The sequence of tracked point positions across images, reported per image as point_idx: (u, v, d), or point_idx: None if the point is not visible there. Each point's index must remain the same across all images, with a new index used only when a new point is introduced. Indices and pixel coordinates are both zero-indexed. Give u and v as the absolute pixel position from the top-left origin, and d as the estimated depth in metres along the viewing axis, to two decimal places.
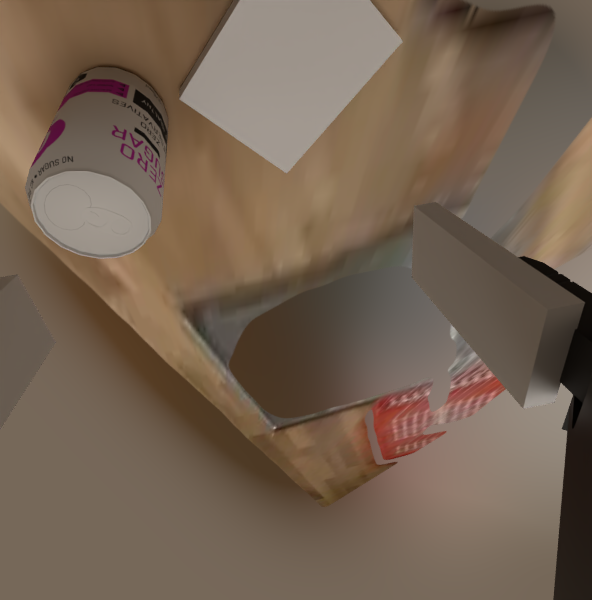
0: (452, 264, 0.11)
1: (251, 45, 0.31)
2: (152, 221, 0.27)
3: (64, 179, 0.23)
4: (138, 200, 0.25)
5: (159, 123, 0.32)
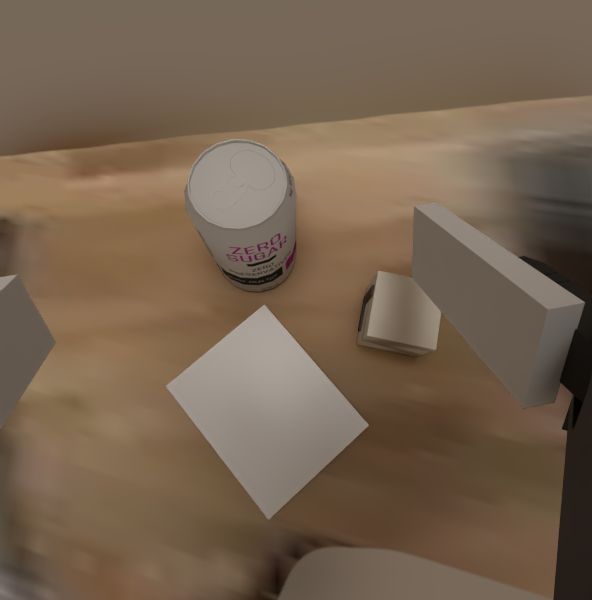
0: (452, 264, 0.11)
1: (291, 374, 0.37)
2: (215, 227, 0.27)
3: (279, 180, 0.28)
4: (243, 225, 0.27)
5: (258, 279, 0.37)
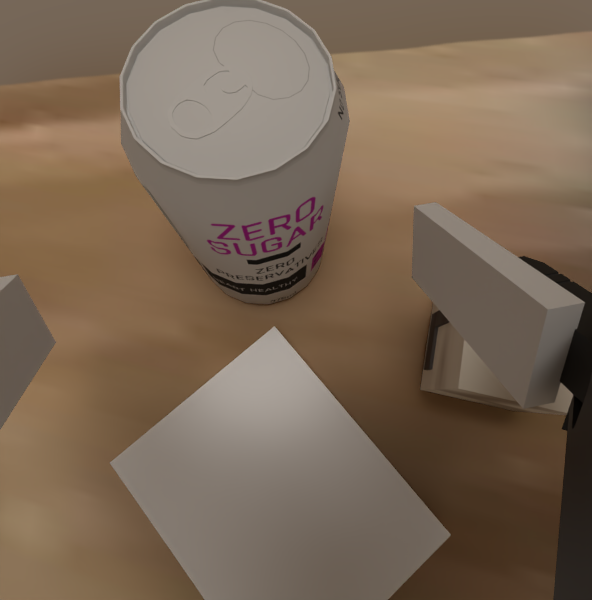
0: (452, 264, 0.11)
1: (319, 444, 0.22)
2: (179, 179, 0.12)
3: (318, 81, 0.13)
4: (241, 172, 0.12)
5: (265, 286, 0.22)
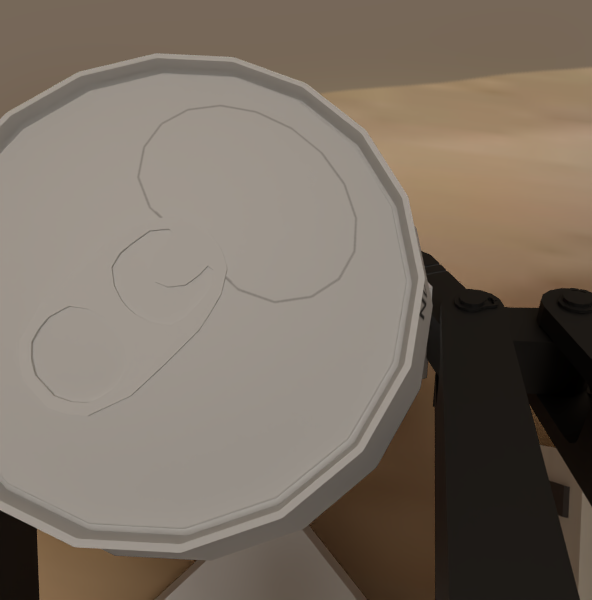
0: None
1: None
2: None
3: (378, 252, 0.06)
4: (194, 518, 0.05)
5: None
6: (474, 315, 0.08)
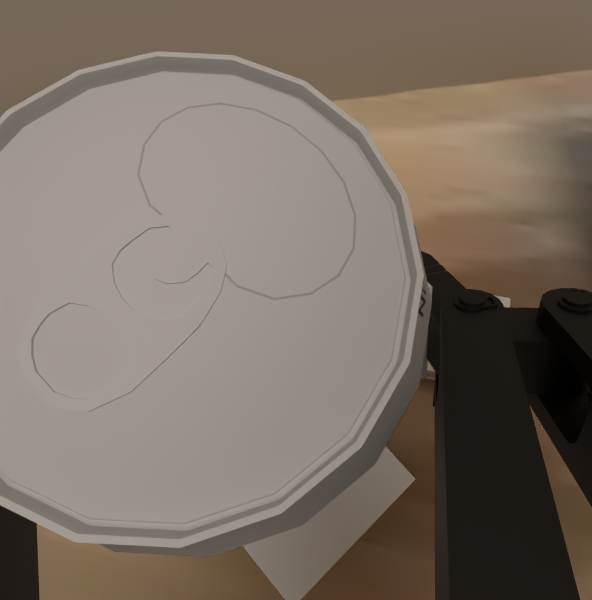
0: None
1: None
2: None
3: (377, 250, 0.06)
4: (194, 514, 0.05)
5: None
6: (474, 315, 0.08)
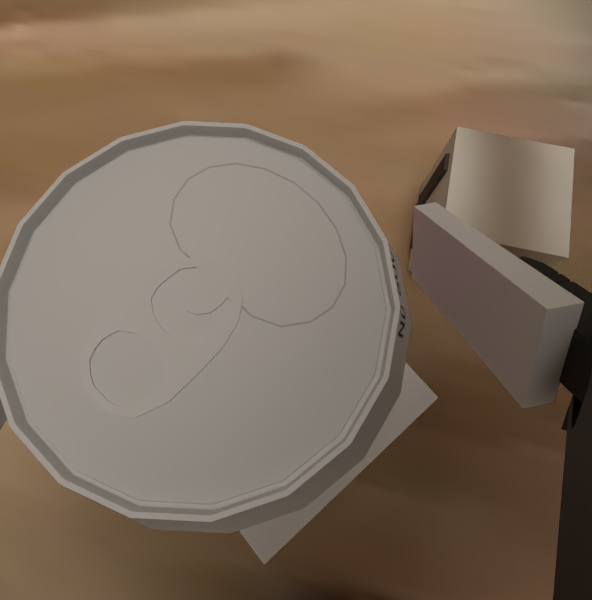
0: (451, 264, 0.11)
1: None
2: None
3: (364, 286, 0.07)
4: (220, 496, 0.06)
5: None
6: None
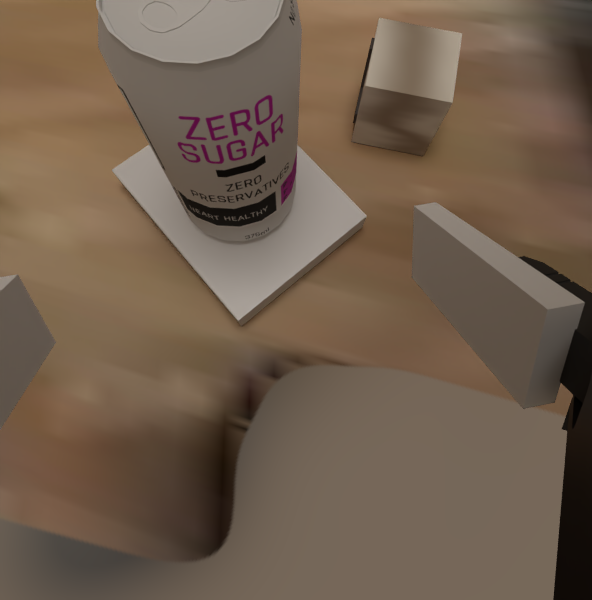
0: (451, 264, 0.11)
1: None
2: (148, 66, 0.14)
3: None
4: (202, 59, 0.14)
5: (237, 213, 0.23)
6: None
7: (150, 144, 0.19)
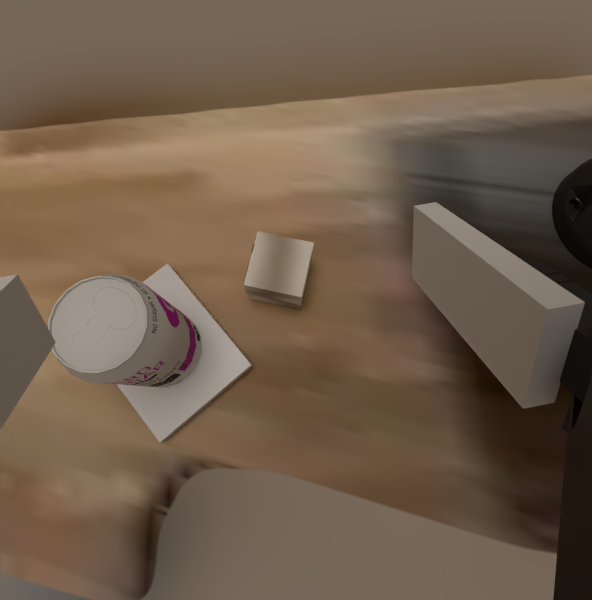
0: (452, 264, 0.11)
1: None
2: (74, 369, 0.27)
3: (140, 320, 0.28)
4: (101, 368, 0.27)
5: (151, 385, 0.37)
6: None
7: None
